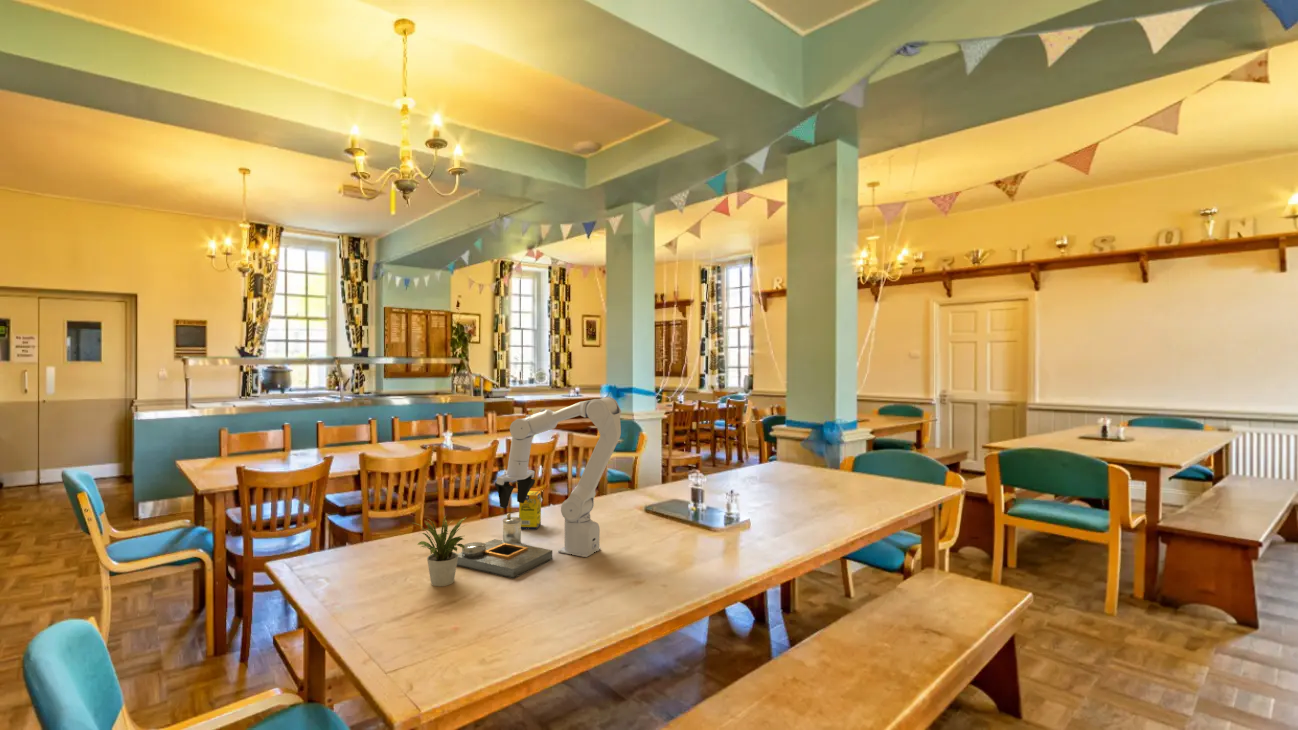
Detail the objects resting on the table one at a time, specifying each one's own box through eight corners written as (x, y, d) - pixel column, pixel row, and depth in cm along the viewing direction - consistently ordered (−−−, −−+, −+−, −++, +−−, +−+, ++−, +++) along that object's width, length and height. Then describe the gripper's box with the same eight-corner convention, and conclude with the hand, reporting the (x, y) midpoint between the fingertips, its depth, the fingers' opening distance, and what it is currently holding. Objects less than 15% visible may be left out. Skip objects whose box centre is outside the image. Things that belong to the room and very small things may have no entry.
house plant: (400, 597, 132) (401, 525, 131) (408, 575, 145) (409, 509, 145) (467, 591, 136) (467, 521, 135) (469, 570, 149) (469, 506, 149)
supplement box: (537, 529, 185) (537, 495, 184) (518, 529, 185) (518, 494, 185) (541, 524, 191) (541, 490, 190) (522, 524, 191) (523, 490, 191)
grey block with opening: (552, 559, 158) (552, 542, 158) (513, 578, 144) (513, 560, 144) (494, 547, 167) (494, 532, 167) (452, 564, 153) (452, 548, 153)
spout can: (524, 542, 172) (525, 513, 172) (513, 547, 167) (513, 517, 167) (510, 539, 174) (511, 511, 174) (498, 544, 170) (499, 515, 169)
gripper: (524, 453, 178) (517, 496, 179) (491, 458, 165) (484, 505, 166) (542, 458, 175) (535, 502, 176) (510, 464, 162) (503, 512, 163)
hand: (512, 504), depth 171 cm, fingers open, 7 cm apart
